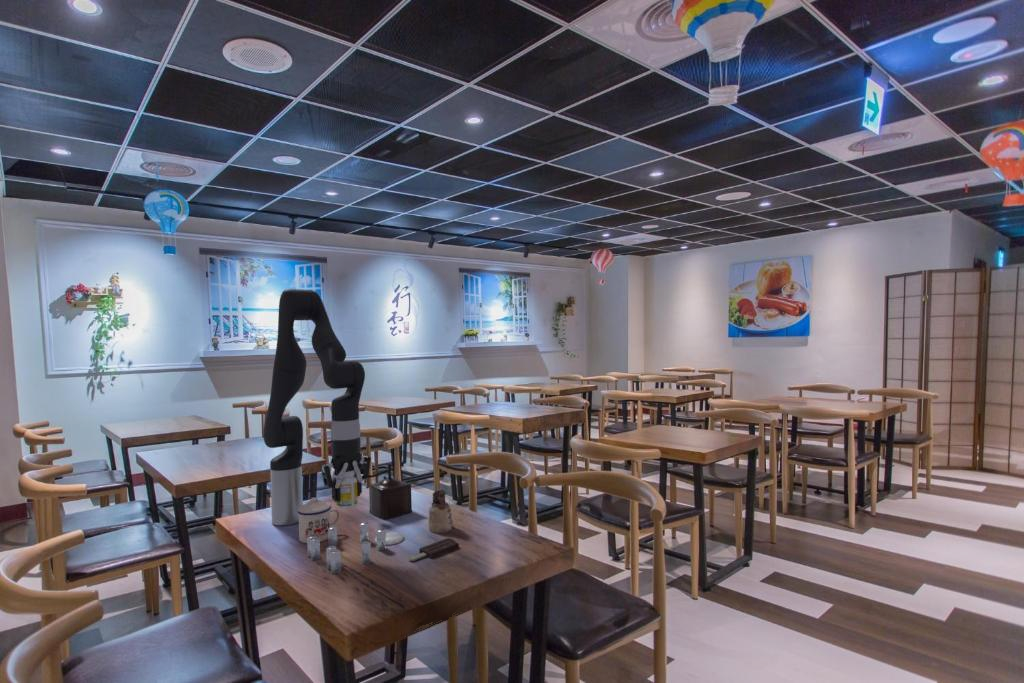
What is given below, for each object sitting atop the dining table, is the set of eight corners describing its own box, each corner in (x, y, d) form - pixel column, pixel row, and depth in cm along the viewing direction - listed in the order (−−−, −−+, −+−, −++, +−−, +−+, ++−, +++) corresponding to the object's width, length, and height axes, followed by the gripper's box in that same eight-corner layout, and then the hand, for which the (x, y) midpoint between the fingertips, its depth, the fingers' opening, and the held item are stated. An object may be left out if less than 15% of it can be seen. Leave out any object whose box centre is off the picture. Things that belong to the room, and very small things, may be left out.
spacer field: (299, 554, 142) (298, 536, 142) (357, 535, 155) (357, 518, 155) (336, 575, 129) (335, 555, 129) (396, 552, 142) (396, 534, 142)
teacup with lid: (304, 546, 147) (303, 505, 147) (294, 537, 155) (293, 498, 154) (346, 535, 155) (345, 496, 155) (334, 527, 162) (333, 489, 162)
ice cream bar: (415, 566, 134) (461, 548, 145) (415, 559, 134) (461, 542, 145) (404, 560, 138) (449, 543, 149) (403, 553, 138) (449, 537, 149)
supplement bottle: (344, 510, 138) (343, 474, 138) (332, 506, 142) (332, 470, 142) (361, 505, 143) (361, 469, 142) (350, 501, 146) (349, 466, 146)
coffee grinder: (395, 505, 182) (394, 453, 182) (412, 512, 174) (411, 458, 174) (353, 516, 172) (351, 461, 172) (369, 524, 164) (367, 466, 164)
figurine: (450, 523, 163) (449, 484, 163) (455, 531, 157) (453, 490, 156) (427, 526, 161) (426, 487, 161) (431, 534, 154) (429, 493, 154)
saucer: (369, 540, 151) (369, 538, 151) (392, 532, 157) (392, 530, 157) (385, 547, 145) (385, 545, 145) (409, 538, 151) (409, 536, 151)
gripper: (361, 430, 150) (363, 489, 150) (313, 438, 139) (315, 502, 139) (376, 433, 145) (378, 495, 145) (328, 442, 134) (329, 508, 134)
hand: (347, 498), depth 142 cm, fingers closed on supplement bottle, 5 cm apart
